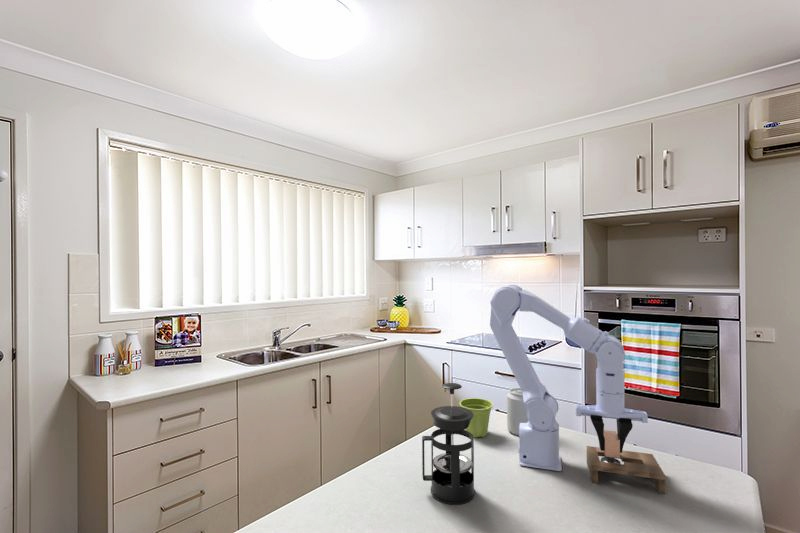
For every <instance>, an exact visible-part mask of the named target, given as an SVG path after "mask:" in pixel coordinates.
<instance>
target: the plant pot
mask: <svg viewBox="0 0 800 533" xmlns="http://www.w3.org/2000/svg"><path fill="white" fill-rule="evenodd" d="M459 407H463V408H466V409H468V410H470V411H472V412H473V418H472V419H471V421H470V424H469V426H468V428H467V429H465V430H466V431H468V432H470V433H471V434H472V435H473V437H474V438H480V437H482V438H484V437H485V436H487V435H488V430H489V422H490V418H491V417H490V415H491V412H492V408H493V407H494V403H493V402H492V401H491V400H488V399H484V398H481V397H480V398H479V397H478V398H477V397H470V398H465V399H461V400H460V401H459Z"/></svg>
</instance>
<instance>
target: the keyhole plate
mask: <svg viewBox="0 0 800 533" xmlns="http://www.w3.org/2000/svg"><path fill="white" fill-rule="evenodd" d="M600 457H601V458H602V457H607V456H605V455H604V452H603V451H602V450H600V446H589V445H586V465H587V470H588V473H589V477H590V481H591V484H595V485H598V484H599V471H600V472H606V473H613V474H620V475H626V476H634V477H640V478H649V479H650V480H651V482H652V484H653V485H654V487H655V489H656V491H657V493H658V494H661V495H666V475H665V473H664V471H663V470H662V467H661V466H660V464H659V462H658V461H657V460H656V457H655V456H654V454H653V453H648V452H647V453H646V452H638V451H631V450H622V453H620V458H617V460H621V461H620V462H623V463H621V464H617V463H609V462H602V461H601V459H600Z"/></svg>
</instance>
